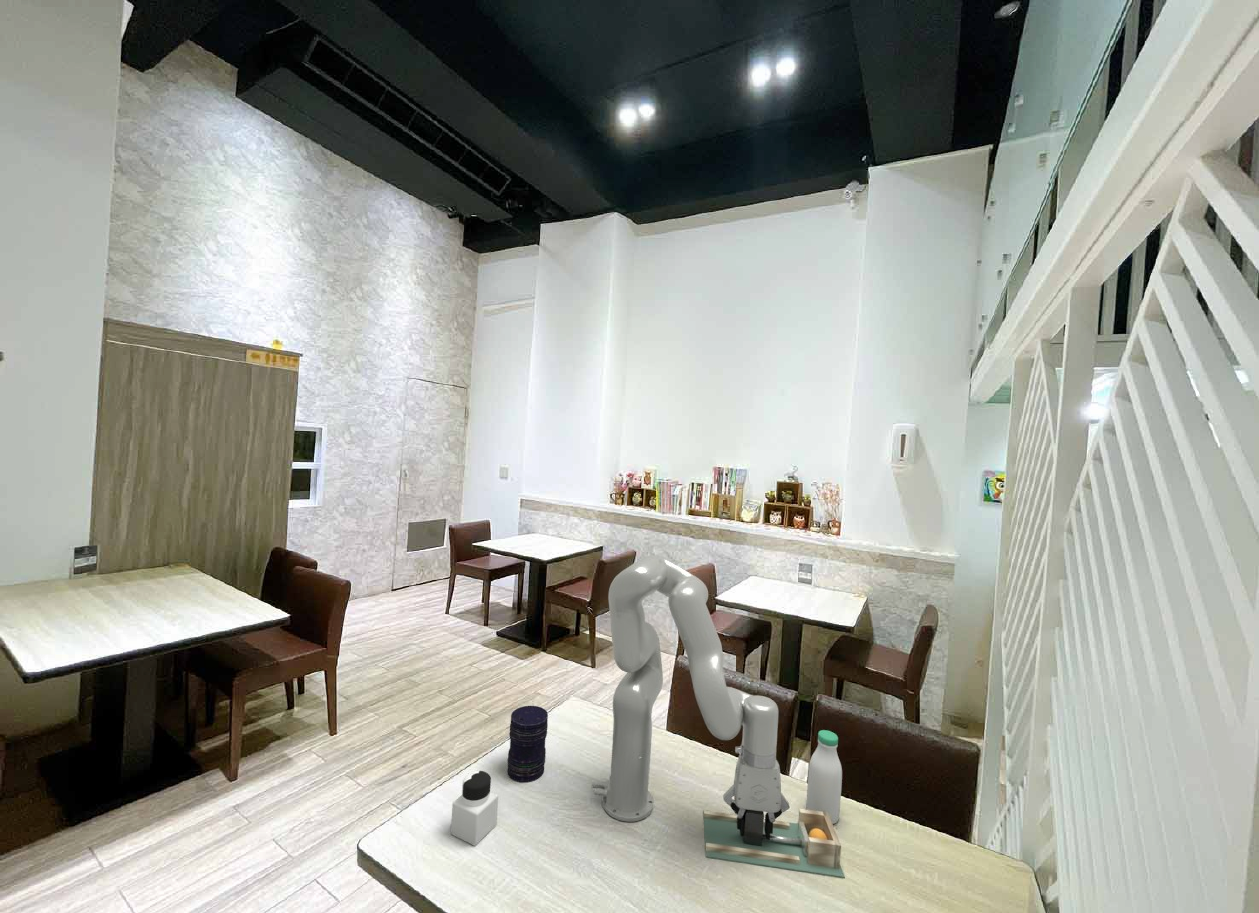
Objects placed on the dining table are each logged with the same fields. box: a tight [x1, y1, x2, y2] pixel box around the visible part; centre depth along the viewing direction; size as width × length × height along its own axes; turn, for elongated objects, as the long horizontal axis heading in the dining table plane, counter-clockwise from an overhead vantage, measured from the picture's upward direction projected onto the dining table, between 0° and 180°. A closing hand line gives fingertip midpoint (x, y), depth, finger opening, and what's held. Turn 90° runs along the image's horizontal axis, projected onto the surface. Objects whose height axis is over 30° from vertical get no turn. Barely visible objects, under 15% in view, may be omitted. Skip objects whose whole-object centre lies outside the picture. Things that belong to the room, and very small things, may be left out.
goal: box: [797, 808, 842, 869], centre depth 113 cm, size 6×10×5 cm, turn 174°
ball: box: [809, 828, 827, 840], centre depth 113 cm, size 4×4×4 cm
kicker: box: [743, 809, 809, 856], centre depth 114 cm, size 14×6×7 cm, turn 84°
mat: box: [702, 810, 846, 879], centre depth 115 cm, size 29×14×1 cm, turn 84°
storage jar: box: [507, 705, 549, 784], centre depth 134 cm, size 10×10×15 cm
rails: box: [703, 810, 800, 864], centre depth 115 cm, size 20×11×1 cm, turn 84°
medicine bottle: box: [450, 770, 499, 847], centre depth 112 cm, size 7×7×12 cm
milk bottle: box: [805, 729, 843, 825], centre depth 125 cm, size 8×8×20 cm
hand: (754, 832), depth 115 cm, fingers closed on kicker, 5 cm apart
